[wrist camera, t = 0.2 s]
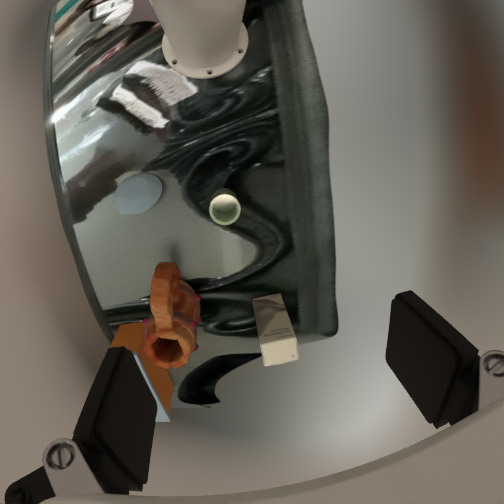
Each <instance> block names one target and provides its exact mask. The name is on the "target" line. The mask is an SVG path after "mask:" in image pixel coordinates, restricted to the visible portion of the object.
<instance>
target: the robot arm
mask: <svg viewBox="0 0 504 504" xmlns="http://www.w3.org/2000/svg"><path fill="white" fill-rule="evenodd" d="M149 1H150V3H151V4H152V7H153V9H154V10H155V13H156V15H157V17H158V19H159V21H160V23H161V25H162V28H163V30H164V32H165V34H164V36H163V41H162V50H163V54H164V57H165V59H166V61H167V62H168V64H169V65H170V66H171V67H172V68H173V69H174V70H175V71H177V72H178V73H180V74H181V75H184V76H186V77H190V78H195V79H209V78H215V77H218V76H221V75H223V74H225V73H228V72H229V71H231V70H232V69H233V68H235V67H236V66H237V65H238V64H239V63H240V62H241V60H242V59H243V57H244V55H245V53H246V50H247V46H248V33H247V30H246V28H245V25H244V24H243V23H242V18H243V13H244V8H245V4H246V0H149ZM239 51H240V52H241V54H240V53H238V52H239ZM174 62H177V64H175V65H174ZM209 72H211V73H212V74H211V75H209V74H208V73H209ZM478 351H479V350H478V349H477V348H476V347H474V345H472V344H471V343H470V342H469V341H468V340H467V339H466V338H465V337H464V336H463V335H462V334H461V333H460V332H458V331H457V330H456V329H455V328H454V327H453V326H452V325H451V324H449V323H448V322H447V321H446V320H445V319H444V318H443V317H442V316H440V315H439V314H438V313H437V312H436V311H435V310H434V309H433V308H431V307H430V306H429V305H428V304H427V303H426V302H424V301H423V300H422V299H421V298H420V297H419V296H417V295H416V294H415V293H414V292H413V291H411V290H409V291H405V292H402V293H399V294H397V295H396V296H395V299H393V300H392V303H391V313H390V323H389V333H388V341H387V348H386V362H387V364H388V365H389V367H390V368H391V369H392V371H393V372H394V374H395V375H396V377H397V378H398V379H399V381H400V382H401V384H402V385H403V387H404V388H405V389H406V391H407V392H408V394H409V395H410V397H411V398H412V400H413V401H414V402H415V404H416V405H417V407H418V408H419V410H420V411H421V413H422V414H423V416H424V417H425V419H426V420H427V422H428V423H433V425H434V426H435V428H436V429H438V428H439V427H441V426H443V425H445V424H447V423H448V422H449V423H450V425H451V426H450V427H448V428H446V429H444V430H442V431H441V432H438V433H436V434H434V435H432V436H430V437H428V438H426V439H424V440H422V441H420V442H418V443H416V444H414V445H411V446H410V447H407V448H405V449H402V450H400V451H398V452H396V453H393V454H390V455H388V456H386V457H383V458H380V459H378V460H375V461H372V462H369V463H367V464H364V465H361V466H358V467H355V468H352V469H349V470H346V471H342V472H339V473H336V474H332V475H329V476H325V477H321V478H317V479H314V480H309V481H305V482H301V483H296V484H292V485H287V486H281V487H276V488H270V489H264V490H258V491H250V492H243V493H234V494H224V495H211V496H187V497H186V496H185V497H160V496H134V495H129V490H130V491H142V489H143V484H146V483H147V480H148V472H149V463H150V456H151V448H152V442H153V435H154V429H155V422H156V416H157V409H158V408H157V402H156V400H155V398H154V396H153V394H152V392H151V390H150V388H149V386H148V384H147V382H146V380H145V378H144V376H143V374H142V372H141V370H140V368H139V366H138V364H137V362H136V359H135V357H134V355H133V353H132V351H131V350H127V348H126V347H124V346H119V347H110V348H109V349H108V351H107V353H106V355H105V357H104V359H103V361H102V364H101V366H100V368H99V370H98V373H97V375H96V377H95V380H94V382H93V384H92V387H91V389H90V392H89V394H88V397H87V399H86V402H85V404H84V406H83V409H82V411H81V414H80V417H79V419H78V422H77V425H76V427H75V430H74V433H73V434H74V435H73V438H72V440H71V439H66V438H61V439H57V440H55V441H53V442H51V443H50V444H49V445H48V446H47V447H46V449H45V450H44V453H43V457H42V460H43V465H44V466H42V467H40V468H39V469H37V470H35V471H34V472H32V473H30V474H28V475H27V476H25V477H23V478H21V479H20V480H18V481H16V482H14V483H12V484H11V485H10V486H9V487H8V489H7V490H6V493H5V504H504V352H502V351H499V350H491V351H488V352H486V353H484V354H483V355H482V356H481V357H479V356H478ZM1 504H2V503H1Z"/></svg>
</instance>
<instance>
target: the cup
mask: <svg viewBox="0 0 504 504" xmlns="http://www.w3.org/2000/svg"><path fill="white" fill-rule="evenodd" d="M240 211H241V208H240V203H239V201H238V198H237V196H236V194H235V193H234V192H233V191H232V190H231V189H228V188H220V189H218V190H216V191H215V192H214V193H213V195H212V197H211V200H210V206H209V212H210V216H211V218H212V219H213V220H214V221H215V222H216V223H218V224H221V225H228V224H232V223H233V222H235V221H236V220H237V219H238V217H239V215H240Z"/></svg>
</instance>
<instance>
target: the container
mask: <svg viewBox="0 0 504 504" xmlns="http://www.w3.org/2000/svg"><path fill="white" fill-rule="evenodd" d="M144 328H145V326H143V324H142V322H138V323H130V324H122V325H120V326H119V328H118V331H117V333H116V335H115V337H114V339H113V341H112V344H111V346H110V347H119V346H124V347H126V348H127V350H131V351H132V353H133V355H134V357H135V359H136V362H137V364H138V366H139V368H140V370H141V372H142V374H143V376H144V378H145V380H146V382H147V384H148V386H149V388H150V390H151V392H152V394H153V396H154V398H155V400H156V402H157V408H158V409H157V416H156V422H167V421H170V416H169V414H170V406H171V398H172V391H173V382H172V380H171V378H170V376H169V373H168V371H167V369H166V368H163V367H160V366H158V365H156V364H154V363H153V362H152V358H151V357H148V356H147V353H146V352H145V350H144V345H145V338H144ZM104 357H105V355H104ZM104 357H103V358H104Z"/></svg>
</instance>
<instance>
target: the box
mask: <svg viewBox="0 0 504 504" xmlns="http://www.w3.org/2000/svg"><path fill="white" fill-rule="evenodd" d="M252 302H253V308H254V314H255V319H256V325H257V331H258V337H259V342H260V347H261V352H262V357H263V362H264V366H272V365H276V364H282V363H285V362H290V361H294V360H298V359H299V352H298V345H297V340H296V336H295V333H294V331H293V328H292V325H291V322H290V319H289V316H288V313H287V311H286V308H285V305H284V302H283V300H282V297H281V294H274V295H269V296H264V297H259V298H255V299H252Z"/></svg>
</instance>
